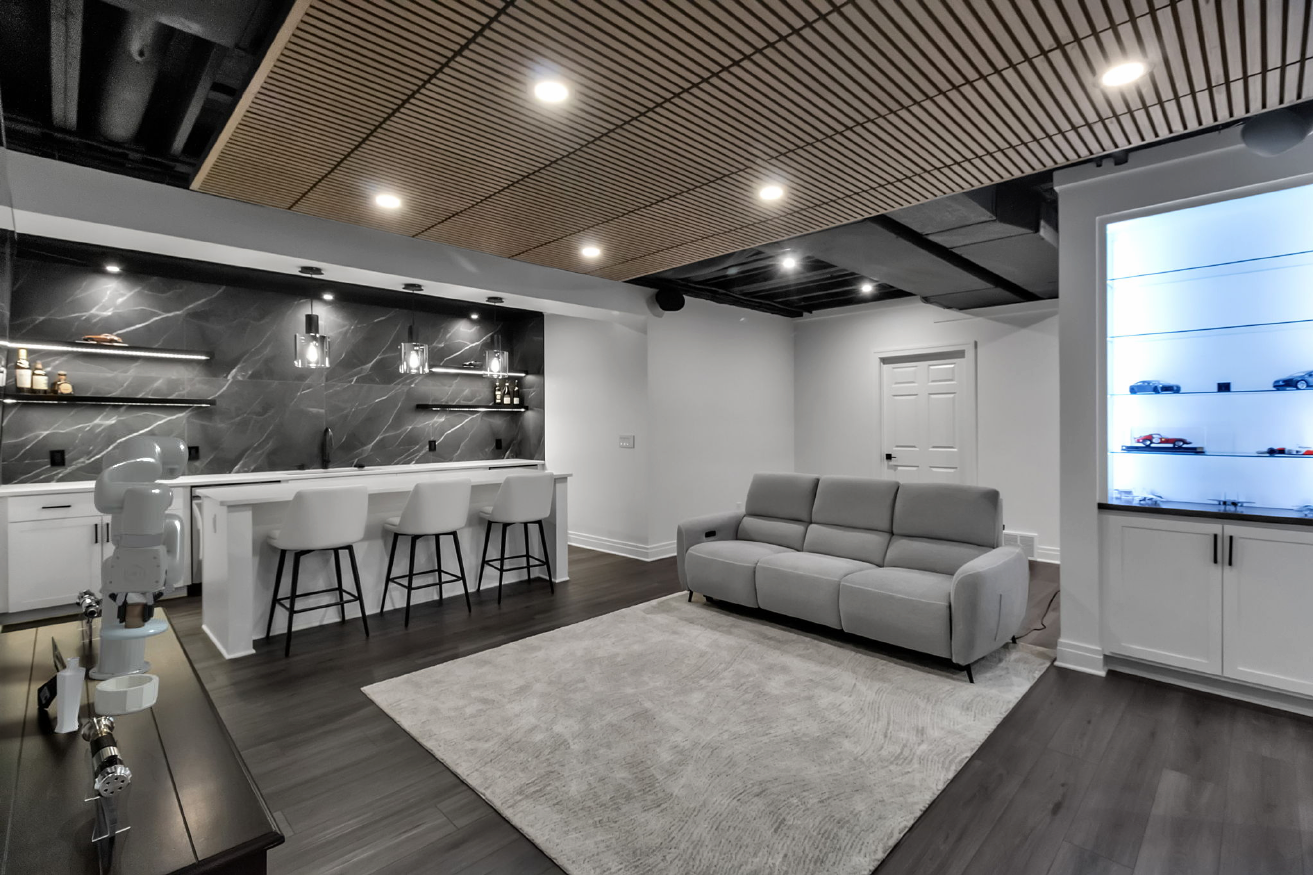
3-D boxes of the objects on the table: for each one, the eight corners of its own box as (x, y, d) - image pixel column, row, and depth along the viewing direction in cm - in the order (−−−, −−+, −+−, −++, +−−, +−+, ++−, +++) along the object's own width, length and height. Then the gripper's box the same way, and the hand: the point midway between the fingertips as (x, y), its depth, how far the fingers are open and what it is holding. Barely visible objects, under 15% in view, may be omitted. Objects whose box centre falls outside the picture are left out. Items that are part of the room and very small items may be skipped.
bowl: (106, 699, 151) (107, 676, 151) (162, 695, 155) (164, 672, 155) (86, 718, 141) (88, 693, 141) (147, 712, 145) (149, 688, 145)
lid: (111, 624, 146) (114, 598, 147) (174, 622, 151) (176, 596, 151) (89, 641, 135) (91, 612, 135) (157, 638, 140) (160, 610, 140)
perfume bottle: (87, 726, 137) (93, 656, 137) (62, 735, 132) (68, 662, 133) (73, 722, 138) (79, 653, 139) (49, 730, 134) (55, 659, 134)
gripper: (88, 543, 137) (81, 628, 137) (181, 543, 143) (174, 624, 143) (102, 537, 144) (95, 618, 143) (190, 538, 150) (184, 615, 150)
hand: (135, 620), depth 143 cm, fingers closed on lid, 3 cm apart
